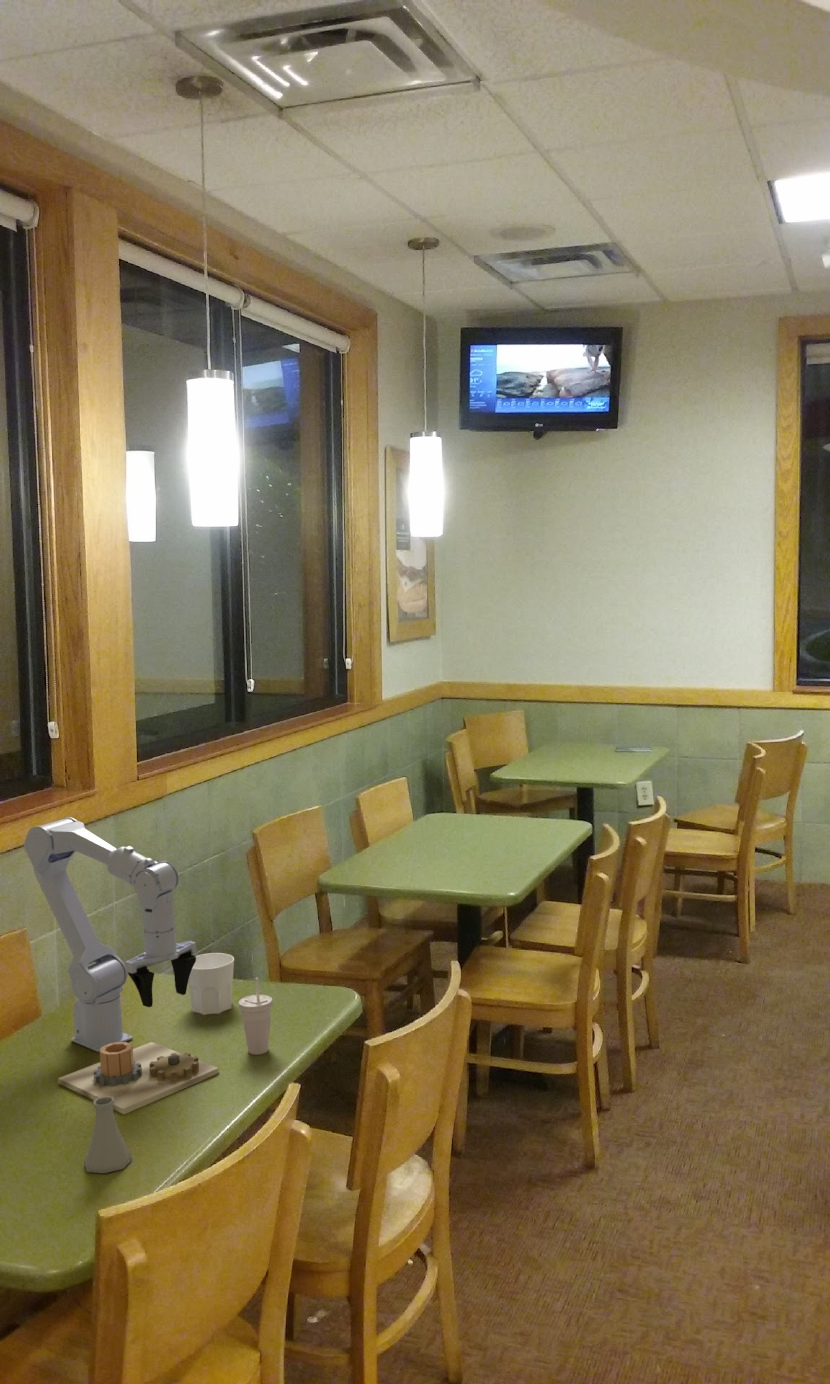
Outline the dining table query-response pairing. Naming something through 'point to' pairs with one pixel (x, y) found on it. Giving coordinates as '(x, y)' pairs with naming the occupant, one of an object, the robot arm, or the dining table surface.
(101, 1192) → the dining table surface
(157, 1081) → the carrier
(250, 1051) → the smoothie
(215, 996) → the cup
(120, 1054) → the planet gear
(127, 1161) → the flask
